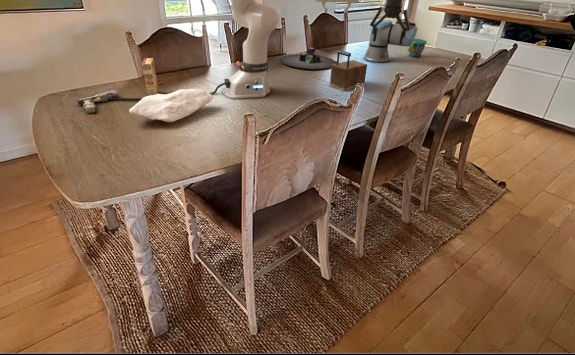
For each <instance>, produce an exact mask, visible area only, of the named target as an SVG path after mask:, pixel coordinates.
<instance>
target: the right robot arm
mask: <svg viewBox="0 0 575 355" xmlns="http://www.w3.org/2000/svg"><path fill="white" fill-rule="evenodd" d="M385 2H386V3H385V7H383V6H380V7H378V10H377V12H376V14H375V16H374V17H373V19H372V20H371V22H370V23H369V26H370V27H371V29H370V37H369V44H368V48H367V49H366V52H365V54H364V58H363V59H364V60H365V61H367V62H370V63H378V64H381V63H387V62H389V59H390V56H389V49H388V48H389V45H391V46H398V47H407V48H409V46H410V45H411V44H412V43H413V41H414V39H416V36H417V33H418V26H417V23H416V21H415V18H416V14H417V11H418V6H419V2H420V0H386V1H385ZM383 12H384V15H383V16H382V17H381V18H379V17H380V15H381V13H383ZM378 18H379V20H378V21H377V19H378ZM386 18H388V19H396V21H395V23H393V21H392V20H385V19H386Z"/></svg>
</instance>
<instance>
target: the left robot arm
mask: <svg viewBox="0 0 575 355" xmlns="http://www.w3.org/2000/svg"><path fill="white" fill-rule="evenodd" d="M229 1H230V3H231V7H232V10H231V16H232V19H233V20H234V22H235V23H237V25H239V26H241V27H243V28H245V29H248V34H247V36H246V37H247V38H246V39H245V40H244V41H243V43H242V59H243V60H242V61H236V62H235V65H236V66H237V67H239V69H237V71H236V72H235V73H234V74H232V75H231V76H230V77H229V78H224V81H223V82H222V83H220V84H218V85H217V86H216V87H215V89H214V91H212V92H209V93H210V94H212V95H214V94H216V93H217V92H218V89H219V88H221V87H222V86H225V87H224V88H223V91H222V92H223V94H224V95H225V96H226V97H228V98H230V99H233V100H236V99H237V100H238V99H239V100H240V99H253V98H254V99H255V98H264V97H266V95H268V94H269V93H270V92H271V88H270V84H269V78H268V76H269V75H268V72H269V61H268V45H269V39H270V36H271V34H272V32H273V31H274V30H275V29H276V28H277V27H278V24H279V15H278V12H277V11H276V10H275V9H274V8H273V7H271V6H270V5H268V4H264V3H260V2H257V1H256V0H229ZM359 1H360V0H315V2H317V3H320V2H321V5H322V8H323V13H324V14H325V13H326V14H328V7H326V6H325V5H326V3H346V4H347V6H346V7H345V8H343V13H344V14H348V12H349V9H350V7H351V6H352V3H358V2H359ZM142 98H143V97H112V98H108V100H107V101H140V100H141V99H142Z"/></svg>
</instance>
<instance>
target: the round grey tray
mask: <svg viewBox="0 0 575 355" xmlns="http://www.w3.org/2000/svg"><path fill="white" fill-rule="evenodd" d="M316 49H317V48H316V47H311V46H308V48H307V49H306V53H304V52H300V54H299V53H295V54H289V55H285V56H282V57H280V59H279V61H280V62H281V63H282V64H284V65H286V66H288V67H294V68H299V69H305V70H307V69H308V70H321V69H322V70H323V69H329V68H332V67H331V64H336V63H337V60H334V59H332V58H330V57H328V56H323V55H320V54H316Z"/></svg>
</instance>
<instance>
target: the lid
mask: <svg viewBox="0 0 575 355" xmlns="http://www.w3.org/2000/svg"><path fill="white" fill-rule="evenodd" d="M336 54H337V58H336V62H337V63H336V64H331V67H330V68H332V67H333V68H336V69H339V70H342V71H349V70H353V69H358V68H362V67H366V66H367V67H368V64H367V63H364V62H361V61H359V60H358V61H357V60H354V59H352V60H350V58H351V56H352V53H351V52H348V51H345V50H342V49H337V50H336ZM340 55H341V56H345V57H347V60H345V61H341V62H340Z"/></svg>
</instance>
